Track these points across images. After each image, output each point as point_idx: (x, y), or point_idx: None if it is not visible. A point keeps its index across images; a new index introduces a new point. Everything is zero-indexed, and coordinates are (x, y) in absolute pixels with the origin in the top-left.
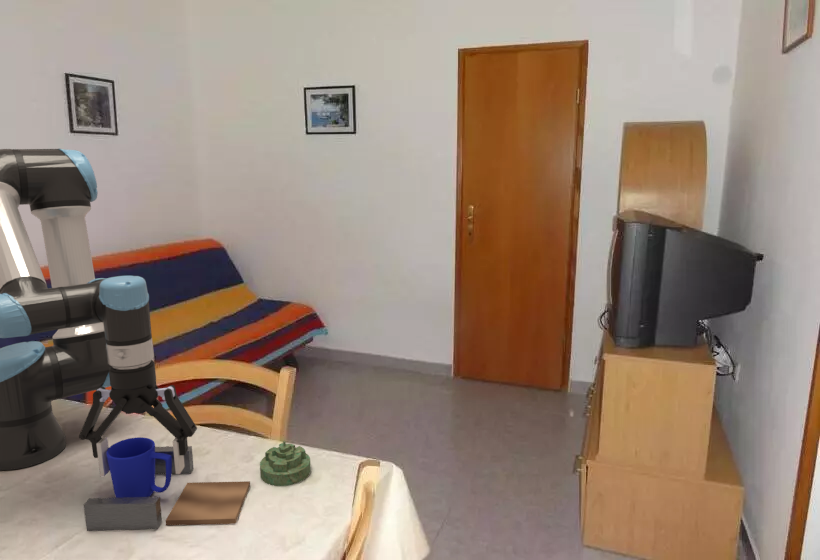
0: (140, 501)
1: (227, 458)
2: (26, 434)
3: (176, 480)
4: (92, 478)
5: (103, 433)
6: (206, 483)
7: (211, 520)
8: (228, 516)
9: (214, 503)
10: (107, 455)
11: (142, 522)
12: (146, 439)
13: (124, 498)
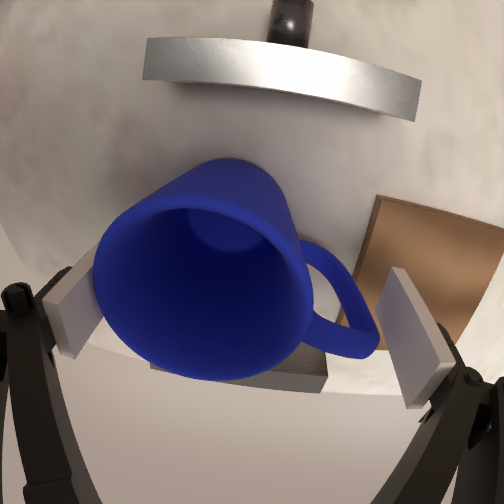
0: (283, 385)
1: (471, 59)
2: None
3: (340, 143)
4: (79, 99)
5: (41, 333)
6: (430, 217)
7: None
8: None
9: (432, 307)
10: (124, 341)
11: None
12: (251, 225)
13: None
